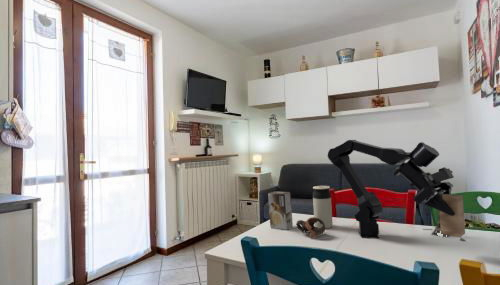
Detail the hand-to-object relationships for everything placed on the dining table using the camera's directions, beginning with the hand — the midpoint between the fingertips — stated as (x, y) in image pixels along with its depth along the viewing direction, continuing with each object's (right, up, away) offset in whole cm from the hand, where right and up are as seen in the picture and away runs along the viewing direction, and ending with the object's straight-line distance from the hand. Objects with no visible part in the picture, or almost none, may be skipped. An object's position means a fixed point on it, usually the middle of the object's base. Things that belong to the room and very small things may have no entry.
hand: (456, 213), depth 87 cm
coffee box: (-50, -17, +42) cm, 68 cm away
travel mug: (-31, -16, +40) cm, 53 cm away
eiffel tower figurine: (+10, -14, +21) cm, 27 cm away
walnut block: (-1, -7, +1) cm, 7 cm away
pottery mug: (-39, -17, +28) cm, 51 cm away
